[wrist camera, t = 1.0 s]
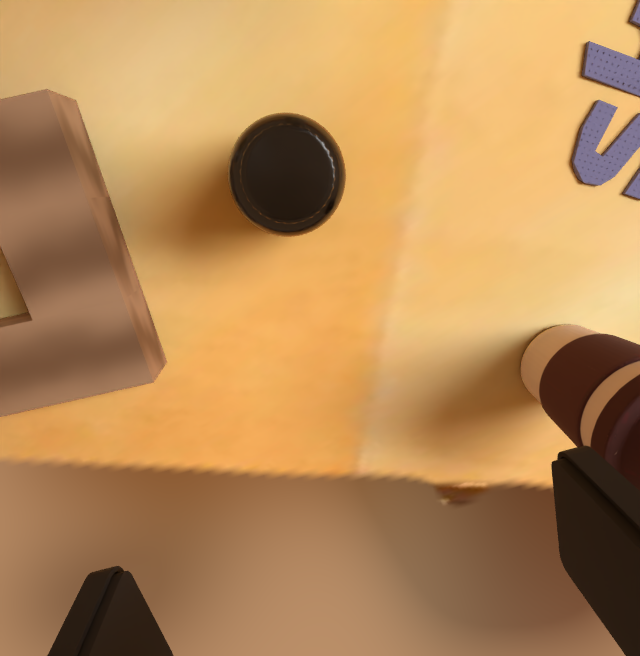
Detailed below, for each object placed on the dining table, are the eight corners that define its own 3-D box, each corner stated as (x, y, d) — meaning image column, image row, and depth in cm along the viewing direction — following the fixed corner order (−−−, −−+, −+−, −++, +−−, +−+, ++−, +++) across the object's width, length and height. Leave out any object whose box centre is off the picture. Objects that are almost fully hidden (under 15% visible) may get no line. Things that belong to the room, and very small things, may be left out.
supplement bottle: (342, 211, 35) (370, 226, 23) (257, 236, 35) (243, 263, 24) (318, 117, 33) (335, 82, 21) (227, 144, 33) (196, 124, 21)
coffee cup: (504, 419, 42) (618, 543, 27) (502, 318, 38) (629, 397, 24) (608, 401, 42) (775, 514, 28) (615, 299, 39) (806, 367, 24)
